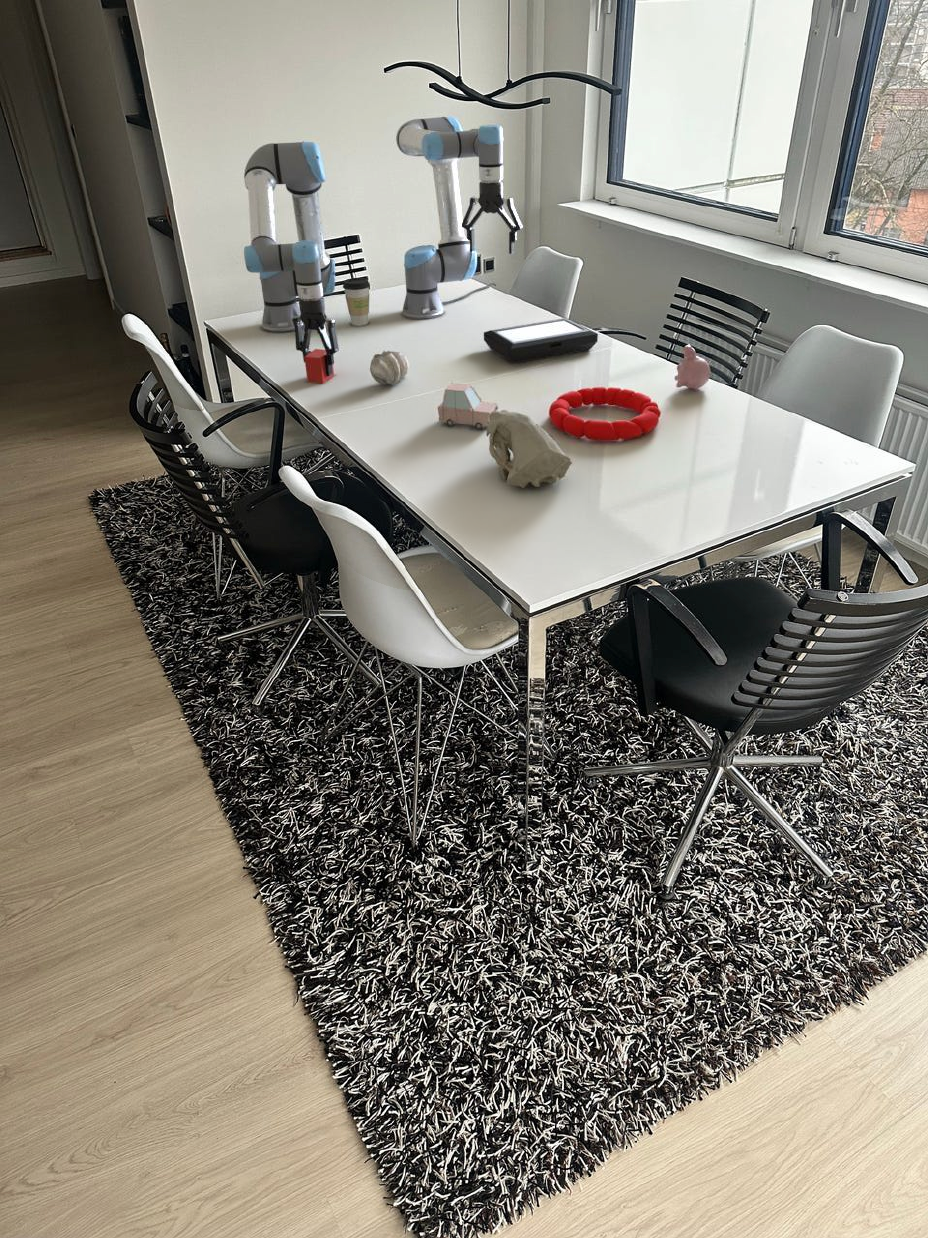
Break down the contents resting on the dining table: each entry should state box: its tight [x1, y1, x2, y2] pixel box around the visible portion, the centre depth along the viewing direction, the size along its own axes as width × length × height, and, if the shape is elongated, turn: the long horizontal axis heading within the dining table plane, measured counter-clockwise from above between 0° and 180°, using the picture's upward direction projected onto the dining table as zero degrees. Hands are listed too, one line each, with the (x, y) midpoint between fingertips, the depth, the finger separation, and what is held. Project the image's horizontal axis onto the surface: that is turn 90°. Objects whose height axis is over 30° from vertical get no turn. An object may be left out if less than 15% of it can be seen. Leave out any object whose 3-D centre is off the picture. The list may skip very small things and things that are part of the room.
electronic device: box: [483, 317, 599, 364], centre depth 294 cm, size 32×6×20 cm
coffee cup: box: [342, 277, 371, 327], centre depth 323 cm, size 10×10×15 cm
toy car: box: [437, 382, 499, 431], centre depth 243 cm, size 9×15×10 cm, turn 70°
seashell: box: [369, 350, 409, 385], centre depth 270 cm, size 10×15×10 cm
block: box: [304, 348, 335, 384], centre depth 277 cm, size 6×8×8 cm
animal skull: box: [485, 409, 573, 489], centre depth 216 cm, size 17×25×20 cm
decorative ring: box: [548, 386, 661, 442], centre depth 242 cm, size 7×30×30 cm
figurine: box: [674, 344, 711, 390], centre depth 259 cm, size 9×11×12 cm
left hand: (320, 373), depth 278 cm, fingers open, 6 cm apart
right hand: (491, 251), depth 294 cm, fingers open, 13 cm apart
